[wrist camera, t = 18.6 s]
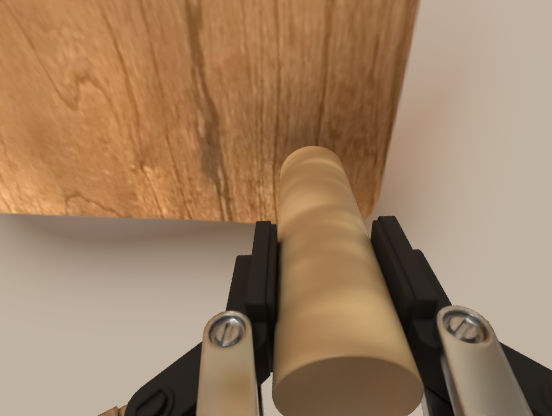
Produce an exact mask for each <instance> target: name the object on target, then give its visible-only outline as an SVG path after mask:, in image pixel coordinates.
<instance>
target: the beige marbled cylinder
mask: <svg viewBox="0 0 552 416" xmlns="http://www.w3.org/2000/svg"><path fill="white" fill-rule="evenodd" d="M272 384H273V385H272V398H273V401H274V404H275V406H276V408H277V409H278V411H279V412H280V413H281V414H282V415H283V416H408V415H409V414H410V413H412V412H413V411H414V410H415V409H416V408H417V406H418V405H419V404H420V402H421V400H422V398H423V394H424V385H423V382H422V379H421V376H420V374H419V371H418V368H417V366H416V363H415V360H414V357H413V355H412V352H411V349H410V347H409V344H408V341H407V338H406V336H405V333H404V330H403V328H402V325H401V322H400V319H399V317H398V314H397V311H396V309H395V306H394V303H393V300H392V298H391V295H390V292H389V290H388V287H387V284H386V281H385V279H384V276H383V273H382V271H381V268H380V265H379V262H378V260H377V257H376V254H375V252H374V249H373V246H372V243H371V241H370V238H369V235H368V232H367V230H366V227H365V224H364V222H363V219H362V216H361V213H360V211H359V208H358V205H357V203H356V200H355V197H354V194H353V192H352V189H351V186H350V184H349V181H348V178H347V175H346V173H345V170H344V167H343V165H342V162H341V160H340V159H339V157H338V156H337V155H336V154H335V153H333V152H332V151H331V150H329V149H327V148H324V147H320V146H307V147H303V148H300V149H298V150H296V151H294V152H293V153H292V154H290V155H289V156H288V157H287V159H286V160H285V161H284V163H283V165H282V168H281V172H280V191H279V219H278V260H277V290H276V319H275V332H274V355H273V383H272Z"/></svg>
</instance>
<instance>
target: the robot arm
mask: <svg viewBox="0 0 552 416" xmlns="http://www.w3.org/2000/svg"><path fill="white" fill-rule="evenodd" d="M370 241H371V243H372V246H373V249H374V252H375V254H376V257H377V260H378V262H379V265H380V268H381V271H382V273H383V276H384V279H385V281H386V284H387V287H388V290H389V292H390V295H391V298H392V300H393V303H394V306H395V309H396V311H397V314H398V317H399V319H400V322H401V325H402V328H403V330H404V333H405V336H406V338H407V341H408V344H409V347H410V349H411V352H412V355H413V357H414V360H415V363H416V366H417V368H418V371H419V374H420V376H421V379H422V382H423V385H424V394H423V398H422V400H421V404H422V409H423V414H424V416H552V370H550V369H548V368H546V367H544V366H542V365H541V364H539V363H537V362H535V361H533V360H532V359H530V358H528V357H526V356H524V355H523V354H520V353H519V352H517V351H515V350H513V349H512V348H510V347H508V346H506V345H504V344H502V343H501V342H499V341H498V339H497V337H496V335H495V332H494V330H493V328H492V327H491V325H490V324H489V322H488V321H487V320H486V319H485V318H484V317H483V316H482V315H480V314H478V313H477V312H475V311H473V310H471V309H469V308H466V307H462V306H452V304H451V302H450V301H449V299H448V297H447V295H446V293H445V292H444V290H443V288H442V286H441V285H440V283H439V281H438V280H437V278H436V276H435V274H434V272H433V270H432V269H431V267H430V265H429V263H428V262H427V260H426V258H425V257H424V254H423V253H422V252H421V251H420V250H419V249H416V250H413V249H412V247H411V245H410V243H409V241H408V239H407V238H406V236H405V234H404V232H403V230H402V228H401V226H400V224H399V223H398V221H397V219H396V217H395V216H379V217H378V220H374V221H373V224H372V232H371V240H370ZM277 260H278V238H277V226H276V224H271V221H257V222H256V229H255V235H254V242H253V249H252V255H238V256H237V258H236V263H235V267H234V272H233V277H232V282H231V287H230V292H229V298H228V303H227V307H226V311H225V312H221V313H219V314H217V315H215V316H214V317H213V318H212V319H211V320H210V321H208V323H207V325H206V326H205V328H204V332H203V340H202V342H201V343H199V344H198V345H197V346H195V347H194V348H193V349H191V350H190V351H189V352H187V353H186V354H185V355H183V356H182V357H181V358H179V359H178V360H177V361H175V362H174V363H173V364H171V365H170V366H169V367H167V368H166V369H165V370H164V371H162V372H161V373H160V374H158V375H157V376H156V377H155V378H153V379H152V380H150V381H149V382H148V383H146V384H145V385H144V386H143V387H141V388H140V389H139V390H138V391H137V392H136V393H135V394H134V395H133V397H132V398H131V400H130V401H129V402H128V404H127V405H125V406H123V407H121V408H120V409H118V407H117V406H116V407H114V408H112V409H110V410H108V411H106V412H104V413H102V414H100V415H98V416H264V408H263V397H262V385H261V384H262V383H263V382H264V381H265V380H266V379H267V378H268V377H269V376H270V372H273V355H274V332H275V319H276V290H277Z"/></svg>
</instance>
